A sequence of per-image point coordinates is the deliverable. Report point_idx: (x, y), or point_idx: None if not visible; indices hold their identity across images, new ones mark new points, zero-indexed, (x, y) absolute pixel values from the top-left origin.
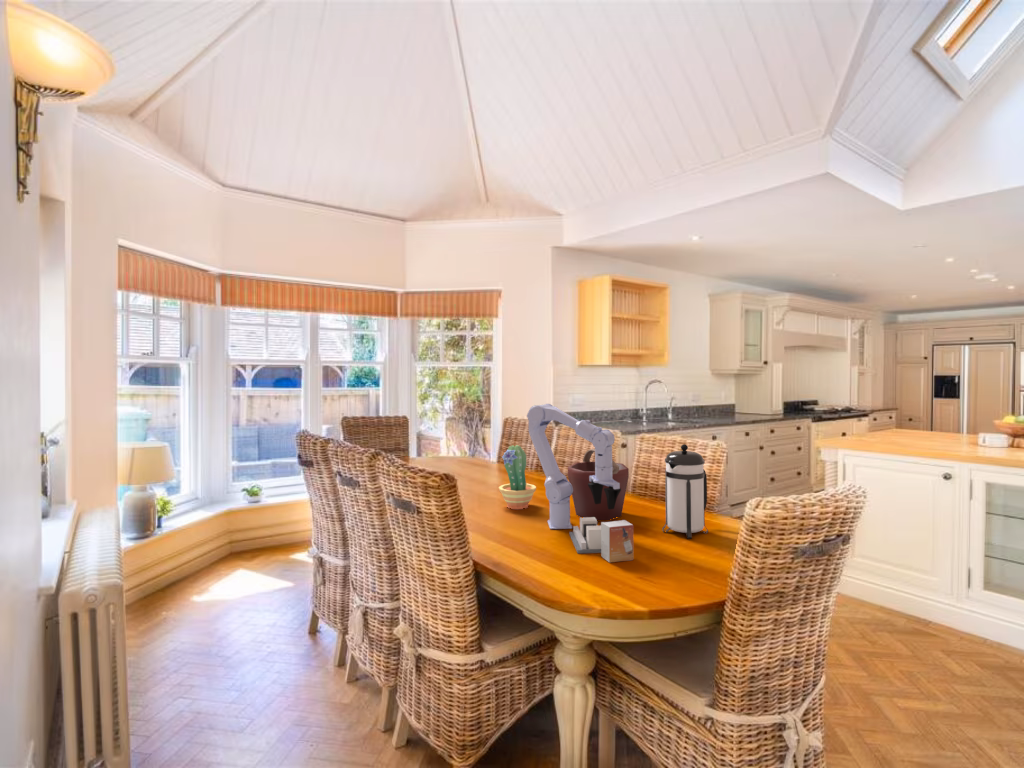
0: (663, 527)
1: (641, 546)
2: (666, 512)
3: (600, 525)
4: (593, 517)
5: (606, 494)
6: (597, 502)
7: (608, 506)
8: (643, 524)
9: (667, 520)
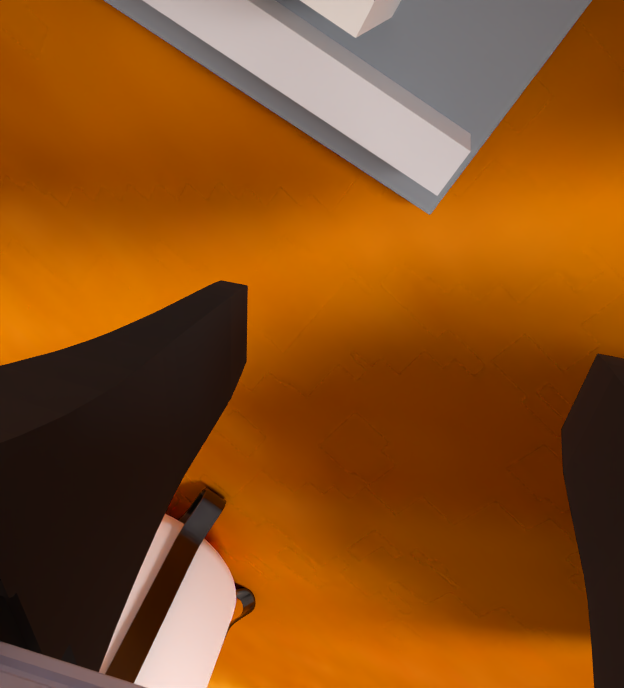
0: (209, 515)
1: (40, 200)
2: (141, 604)
3: (441, 188)
4: (354, 1)
5: (58, 388)
6: (589, 398)
7: (201, 291)
8: (394, 535)
9: (160, 555)
